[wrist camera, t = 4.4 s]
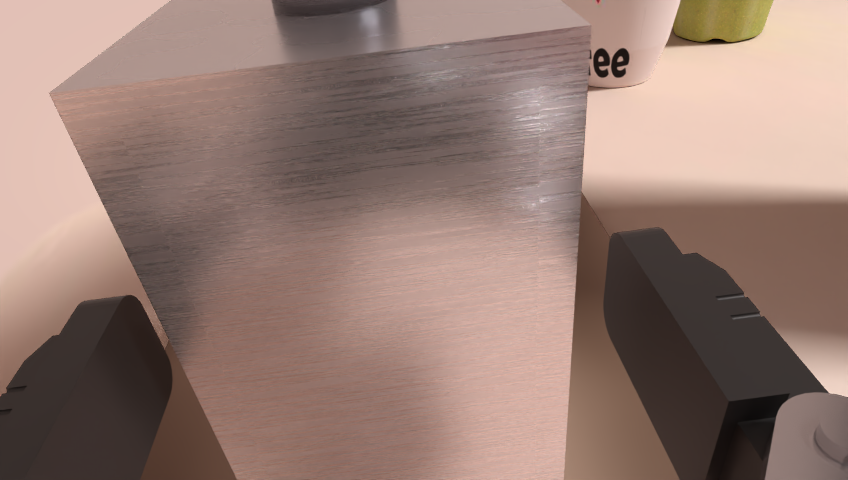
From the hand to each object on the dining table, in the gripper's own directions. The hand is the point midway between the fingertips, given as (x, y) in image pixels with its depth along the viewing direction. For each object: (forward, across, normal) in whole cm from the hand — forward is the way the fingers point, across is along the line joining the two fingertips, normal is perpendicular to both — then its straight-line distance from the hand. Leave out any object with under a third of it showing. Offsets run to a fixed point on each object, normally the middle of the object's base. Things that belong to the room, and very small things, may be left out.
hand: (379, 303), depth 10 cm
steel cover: (+2, 0, +6) cm, 7 cm away
